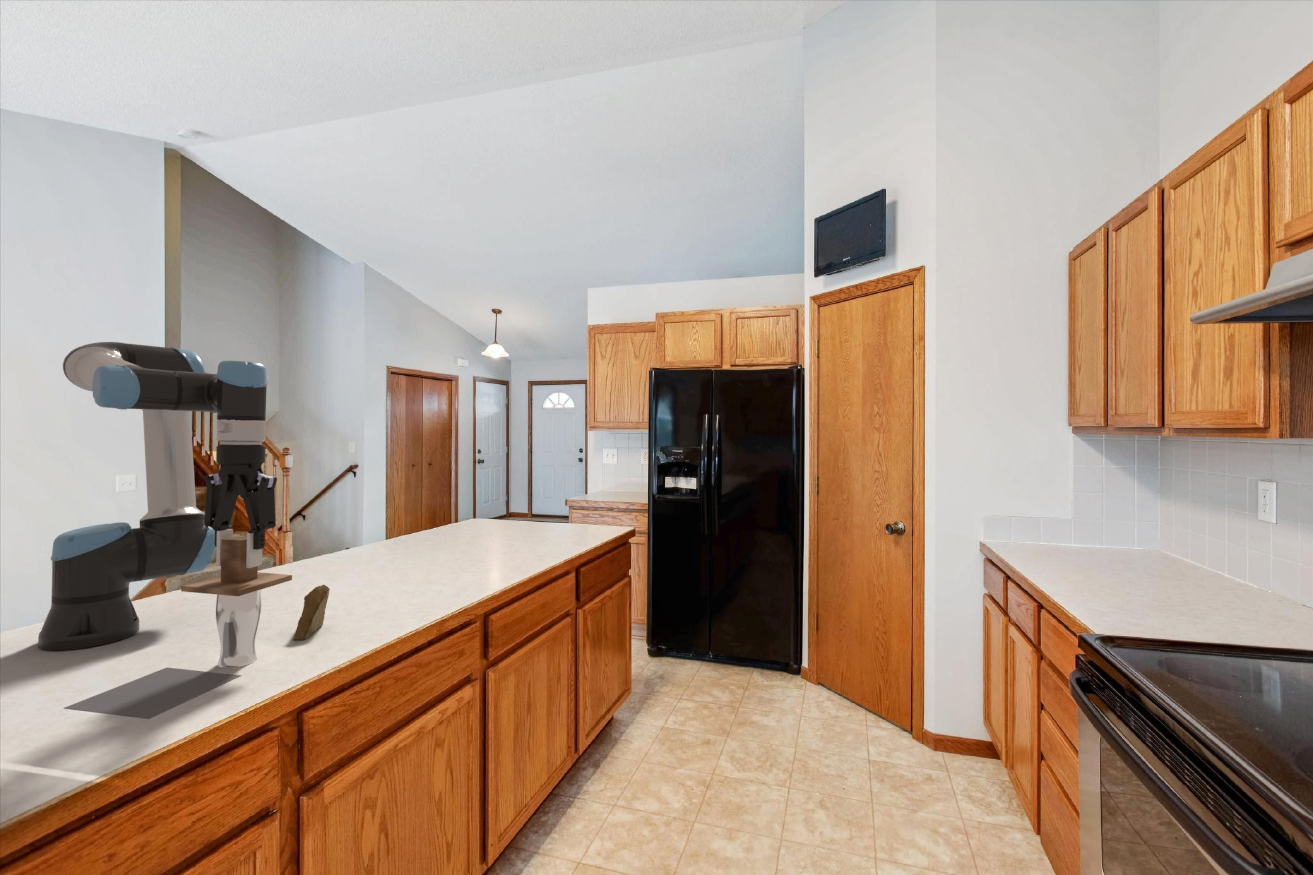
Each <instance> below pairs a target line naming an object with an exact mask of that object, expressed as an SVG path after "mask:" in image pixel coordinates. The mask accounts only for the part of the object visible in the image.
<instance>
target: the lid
mask: <svg viewBox="0 0 1313 875" xmlns="http://www.w3.org/2000/svg"><path fill="white" fill-rule="evenodd" d="M246 556H247V535H237V536H233V537H231V538H226V539H222V547H221V566H220V575H219V576H216V577H210V578H207V579H203V580H200V581H195V582H191V583H186V584H183V585H181V586H180V587H181V590H180V591H181V592H185V593H196V594H207V595H216V596H217V595H228V596H241V595H244V594H248V593H251V592H254V591H258V590H260V591H261V590H263V589H267V588H271V587H274V586H277V585H280V584H283V583H287V582H290V581H293V574H284V573H283V574H282V573H269V572H258V568H259V566H256V567H252V568H246Z"/></svg>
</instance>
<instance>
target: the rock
mask: <svg viewBox="0 0 1313 875" xmlns="http://www.w3.org/2000/svg"><path fill="white" fill-rule="evenodd" d="M329 595H330V587H328V586H327V585H325V584H322V585H318V586H316V587H314V588H313V589H312V590H311V591H309V592H308V593H307V594H306V595H304V598H303V600H304V602H303V608H302V612H301V616H300V617H299V619H298V622H297V626H296V629H295V632H294V635H293V637H292V639H293V640H305V639H308V637H310V636H312V634H313V633H315V632H316V631H318V630H319V629H320V628H321V627H322V626H323V625H324V621H325V614H326V609H327V603H328V600H329ZM317 629H318V630H317Z"/></svg>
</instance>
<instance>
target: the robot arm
mask: <svg viewBox="0 0 1313 875" xmlns="http://www.w3.org/2000/svg"><path fill="white" fill-rule="evenodd" d="M62 371H63V374H64V376H65V377H66V378H67V379H68V381H69V382H70V383H72V385H74V386H76V387H78V388H80V389H82V390H85V391H88V392H92V397H93V399H94V403H95V404H96V405H97V406H98V407H101V408H107V409H118V410H142V418H143V419H142V420H143V440H144V443H143V444H144V460H145V461H144V462H145V476H146V477H145V480H146V497H147V498H146V500H147V512H146V513H145V515H143V516H142V517H141V518H140V519H139V527H137V528H136V527H135V528H134V527H133V528H132V526H131V525H130V523H129V522H121V521H120V522H112V523H103V524H95V525H90V526H85V527H79V528H76V529H71V530H69V531H66V532H62V533H61V534H59V535H57V536H56V537H55V539H54V540H53V544H52V552H51V556H50V560H51V605H50V609H49V611H48V613H47V616H46V618H45V621H44V623H43V625H42V627H41V630H40V632H39V633H38V636H37V637H38V639H37V645H38V648H39V649H40V650H45V651H68V650H70V651H71V650H80V649H85V648H91V647H92V648H93V647H96V646H102V645H107V644H110V643H115V642H117V641H120V640H125V639H127V638H129V637H131V636H133V635H135V634H137V633H138V632H139V631H140V619H139V616H138V614H137V612H136V609H135V607H134V605H133V602H132V600H131V598H130V583H133V582H143V581H147V580H148V581H149V580H154V579H155V580H156V579H162V578H169V577H176V576H185V575H188V574H193V573H198V572H201V571H204V570H205V569H207V568H208V567H209V565H210V564H211V563H212V561H213V559H214V555H215V552H216V559H215V560H216V563H215V566H216V567H221V547H222V539H226V538H231V537H234V529H233V525H231V522H232V518H233V516H234V512H235V507H236V504H237V499H238V497H239V496H240V498H241V499H242V500H243V503H244V506H245V507H244V508H245V510H246V515H247V518H248V523H249V528H250V530H247V533H246V536H247V556H246V568H252V567H256V566H258V567H259V566H260V567H261V566H262V565H263V549H265V546H266V532H267V530H270V529H273V528H275V527H277V526H276V525H277V522H276V521H277V520H276V493H275V492H276V491H275V488H276V484H277V481H278V477H277V476H276V475H271V476H269V475H267V474H264V470H263V468H262V465H263V464H265V461H266V446H265V445H264V444H262V443H263V442H265V441H266V439H267V438H266V436H267V435H266V416H267V386H268V380H267V368H266V366H264V364H262V363H259V362H253V361H247V360H246V361H243V360H222V361H220V362H219V363H218V366H217V372H216V373H207V372H206V369H205V366H204V363H203V361H202V359H201V358H200V356H199V355H198V354H197V353H196V352H194V351H191V350H188V349H182V348H181V349H180V348H176V347H172V346H171V347H170V346H169V347H165V346H157V345H155V346H154V345H145V344H144V345H143V344H134V343H126V342H119V341H99V342H93V343H87V344H84V345H81V346H77V347H76V348H74V349H72V350H70V352H68V354H67V355H65V357H64V359H63V362H62ZM191 412H203V413H208V412H209V413H213V414H215V413H216V441H218V442H220V444H217V445H216V446H215V447H216V449H215V450H216V455H215V456H216V457H215V462H216V464H218V465H220V467H219V469H218V472H217V473H213V474H205V475H204V482H205V486H206V492H205V493H206V494H205V507H204V508H205V509H204V512H203V511H201V510H200V509H199V508H198V507H197V499H196V484H195V469H194V468H195V466H194V453H193V452H194V451H193V437H192V436H193V435H192V434H193V433H192V422H191Z"/></svg>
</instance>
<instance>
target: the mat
mask: <svg viewBox="0 0 1313 875" xmlns="http://www.w3.org/2000/svg"><path fill="white" fill-rule="evenodd" d="M239 677H242V675H241V674H231V673H225V672H223V673H222V672H214V671H205V670H204V671H202V670H197V669H196V670H194V669H185V668H177V667H164V668H162V669H159V670H157V671H154V672H151V673H149V674H147V675H144V676H142V677H139V678H136V679H134V680H131V681H128V682H127V683H126V682H125V683H124V684H121V685H118V686H116V687H113V688H111V689H109V690H106V691H103V692H101V693H98V694H96V695H94V696H91V697H88V698H85V699H83V700H81V701H77V702H75V703H73V704H70V705H68V706H65V707H64V710H65V709H66V710H67V709H68V710H74V711H75V710H76V711H83V712H91V713H98V714H104V715H105V714H106V715H112V716H121V717H122V716H123V717H131V718H136V719H137V718H138V719H146V720H150V719H152V718H154V717H156V716H158V715H161V714H163V713H164V712H167V711H168V710H169V711H170V710H171V709H173V708H176V707H177V706H179V705H182V704H185V703H186V702H189V701H190V700H193V699H195V698H197V697H199V696H201V695H204V694H205V693H207V692H210V691H211V690H212V691H213V690H214V689H216V688H218V687H221V686H223V685H224V684H227V683H229V682H231V681H234V680H235V679H238V678H239Z"/></svg>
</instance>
